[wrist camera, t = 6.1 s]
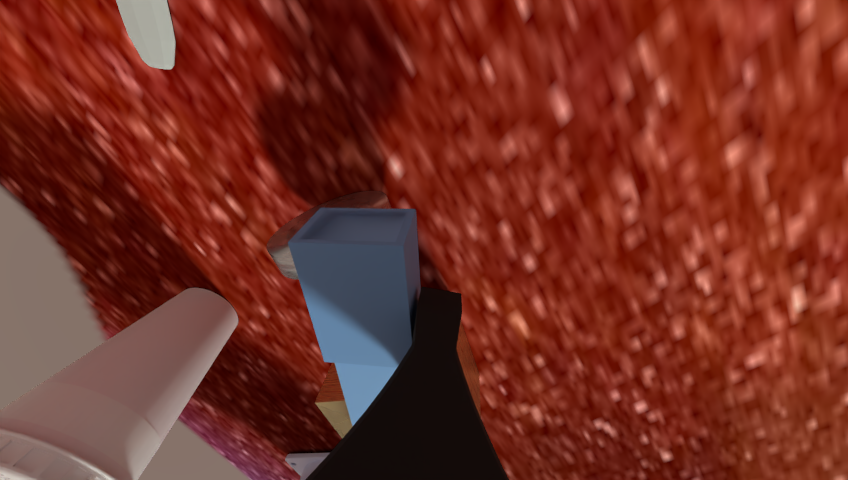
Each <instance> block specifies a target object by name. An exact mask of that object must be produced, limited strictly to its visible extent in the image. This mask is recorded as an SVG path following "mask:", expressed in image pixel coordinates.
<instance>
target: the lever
mask: <svg viewBox="0 0 848 480" xmlns="http://www.w3.org/2000/svg"><path fill="white" fill-rule="evenodd" d="M288 245H289V248H290V252H291V255H292V258H293V261H294V265H295V268H296V271H297V274H298V278H299V281H300V284H301V287H302V290H303V294H304V297H305V300H306V303H307V307H308V310H309V313H310V316H311V320H312V323H313V326H314V329H315V333H316V336H317V339H318V342H319V346H320V349H321V352H322V355H323V359H324V362H332V363H335V367H336V370H337V374H338V377H339V381H340V384H341V388H342V391H343V395H344V398H345V402H346V405H347V409H348V412H349V416H350V419H351V423H352V426H353V425H354V424H355V423H356V422H357V421H358V419H359V418H360V417H361V416H362V414H363V413H364V412H365V411H366V410H367V408H368V407H369V406H370V404H371V403H372V402H373V400H374V399H375V398H376V397H377V395H378V394H379V393H380V391H381V390H382V389H383V387H384V386H385V384H386V383H387V382H388V380H389V379H390V377H391V376H392V375H393V373H394V372H395V370H396V368H397V367H398V365H399V364H400V362H401V361H402V359H403V358H404V356H405V355H406V353H407V352H408V350H409V348H410V347H411V345H412V338H413V330H414V324H415V317H416V310H417V304H418V300H419V295H420V291H421V285H420V269H419V252H418V236H417V219H416V209H378V208H320V209H319V210H318V211H317V212H316V213H315V214H314V215H313V216H312V217H311V218H310V219H309V220H308V221H307V222H306V223H305V224H304V226H303V227H302V228H301V229H300V230H299V231H298V232H297V233H296V234H295V235H294V236H293V237H292V238H291V239H290V240H289V241H288Z"/></svg>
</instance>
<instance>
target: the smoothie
mask: <svg viewBox="0 0 848 480" xmlns="http://www.w3.org/2000/svg"><path fill="white" fill-rule="evenodd" d="M237 324H238V316H237V313H236V311H235V310H234V308H233V307H232V306H231V304H230V303H229V302H228V301H226V300H225V299H224V298H223V297H221V296H220V295H218V294H216V293H214V292H212V291H209V290H206V289H202V288H189V289H186V290H184V291H183V292H181V293H179V294H178V295H176V296H175V297H173V298H172V299H170V300H169V301H167V302H166V303H164V304H163V305H161V306H159V307H158V308H156V309H155V310H153V311H152V312H150V313H149V314H147V315H146V316H144V317H143V318H141V319H139V320H138V321H136V322H135V323H133V324H132V325H130V326H129V327H127V328H126V329H124V330H123V331H121V332H119V333H118V334H116V335H115V336H113V337H112V338H110V339H109V340H107V341H106V342H104V343H103V344H101V345H99V346H98V347H96V348H95V349H93V350H92V351H90V352H89V353H87V354H86V355H84V356H83V357H81V358H80V359H78V360H76V361H75V362H73V363H72V364H70V365H69V366H67V367H66V368H64V369H63V370H61V371H60V372H58V373H56V374H55V375H53V376H52V377H50V378H49V379H47V380H46V381H44V382H43V383H41V384H39V385H37V386H36V387H34V388H33V389H32V390H30V391H28V392H27V393H26V394H24V395H22V396H21V397H19V398H18V399H16V400H15V401H13V402H12V403H10V404H9V405H8V406H6V407H4V408H3V409H2V410H0V480H138V478H139V477H140V475H141V474H142V472H143V470H144V469H145V468H146V466H147V465H148V463H149V462H150V460H151V459H152V457H153V456H154V454H155V453H156V451H157V450H158V448H159V446H160V445H161V443H162V441H163V440H164V438H165V437H166V435H167V434H168V432H169V431H170V429H171V427H172V426H173V424H174V423H175V421H176V420H177V418H178V417H179V415H180V413H181V412H182V410H183V409H184V407H185V406H186V404H187V403H188V401H189V399H190V398H191V396H192V395H193V393H194V392H195V390H196V389H197V387H198V385H199V384H200V382H201V381H202V379H203V378H204V376H205V375H206V373H207V371H208V370H209V368H210V367H211V365H212V364H213V362H214V361H215V359H216V357H217V356H218V354H219V353H220V351H221V350H222V348H223V347H224V345H225V343H226V342H227V340H228V339H229V337H230V336H231V334H232V333H233V331H234V329H235V328H236V326H237Z"/></svg>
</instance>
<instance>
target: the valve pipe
mask: <svg viewBox="0 0 848 480" xmlns="http://www.w3.org/2000/svg"><path fill="white" fill-rule="evenodd" d="M320 208H378V209H392V208H391V206H390V203H389V201H388V198H387V196H386V194H384V193H383V192H380V191H363V192H357V193H352V194H348V195H345V196H341V197H338V198H335V199H333V200H330V201H328V202H325V203H323V204H320V205H318V206H316V207H314V208H312V209H310V210H308V211H306V212H304V213H302V214H301V215H299V216H297V217H296V218H294V219H292V220H291V221H289V222H288V223H287V224H285V225H284V226H283V227H281V228H280V229H279V230H278V231H277V232H276V233H275V234H274V235H273V236H272V237H271V238H270V240H269V241H268V244H267V251H268V252H269V254H270V255H271V257H272V259H273V260H274V262H275V263H276V265H277V266H278V268H279V269H280V271H281V273H282V274H283V275H284V276H286V277H288V278H291V279H299V278H298V274H297V271H296V268H295V265H294V261H293V258H292V255H291V252H290V248H289V245H288V241H289V240H290V239H291V238H292V237H293V236H294V235H295V234H296V233H297V232H298V231H299V230H300V229H301V228H302V227H303V226H304V224H305V223H306V222H307V221H308V220H309V219H310V218H311V217H312V216H313V215H314V214H315V213H316V212H317V211H318V210H319V209H320ZM456 349H457V353H458V356H459V360H460V363H461V366H462V369H463V372H464V375H465V378H466V381H467V384H468V387H469V389H470V392H471V395H472V398H473V400H474V403H475V405H476V408H477V410H478V413H479V415H480V384H479V372H478V369H477V366H476V363H475V361H474V358H473V355H472V352H471V349H470V346H469V343H468V340H467V337H466V334H465V332H464V329H463V326H462V323H461V321H460V328H459V334H458V341H457V347H456ZM315 404H316V405H317V406H318V408H319V409H320V410H321V412H322V413H323V414H324V416H325V417H326V418H327V419H328V421H329V422H330V423H331V425H332V426H333V427H334V429H335V430H336V431H337V432H338V434H339V435H340V436H341V438H342V439H343V437H344V436H345V435H346V434H347V433H348V431H349V430H350V429H351V428H352V427H353V426H352V423H351V419H350V416H349V412H348V409H347V405H346V402H345V398H344V395H343V391H342V388H341V384H340V381H339V377H338V374H337V370H336V367H335V363H332V365H331V367H330V369H329V371H328V374H327V376H326V378H325V381H324V383H323V385H322V387H321V390H320V392H319V394H318V396H317V399H316V401H315Z"/></svg>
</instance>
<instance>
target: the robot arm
mask: <svg viewBox="0 0 848 480" xmlns="http://www.w3.org/2000/svg"><path fill="white" fill-rule="evenodd" d="M461 314H462V302H461V294H460V293H455V292H449V291H444V290H438V289H433V288H427V287H421V291H420V295H419V300H418V304H417V310H416V317H415V324H414V330H413V338H412V345H411V347H410V348H409V350H408V352H407V353H406V355H405V356H404V358H403V359H402V361H401V362H400V364H399V365H398V367H397V368H396V370H395V372H394V373H393V375H392V376H391V377H390V379H389V380H388V382H387V383H386V384H385V386H384V387H383V389H382V390H381V391H380V393H379V394H378V395H377V397H376V398H375V399H374V400H373V402H372V403H371V404H370V406H369V407H368V408H367V410H366V411H365V412H364V413H363V414H362V416H361V417H360V418H359V419H358V421H357V422H356V423H355V424H354V425H353V427H352V428H351V429H350V430H349V431H348V433H347V434H346V435H345V436H344V437H343V439H342V440H341V441H340V442H339V443H338V444H337V446H336V447H335V448H334V449H333V450H332V451H331V452H330V453H297V454H288V455H287V457H286V459H285V460H286V462H287V463H288V464H289V465H290V466H291V467H292V468H293V469H294V470H295V471H296V472H297V473H298V474H299V475H300V476H301V478H300V480H509V479H508V477H507V475H506V473H505V471H504V469H503V467H502V465H501V463H500V461H499V459H498V456H497V454H496V452H495V450H494V448H493V445H492V443H491V441H490V439H489V437H488V434H487V432H486V430H485V427H484V425H483V423H482V420H481V418H480V415H479V413H478V410H477V408H476V405H475V403H474V400H473V398H472V395H471V392H470V389H469V387H468V384H467V381H466V378H465V375H464V372H463V369H462V366H461V363H460V360H459V356H458V353H457V349H456V347H457V341H458V334H459V328H460V321H461Z"/></svg>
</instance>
